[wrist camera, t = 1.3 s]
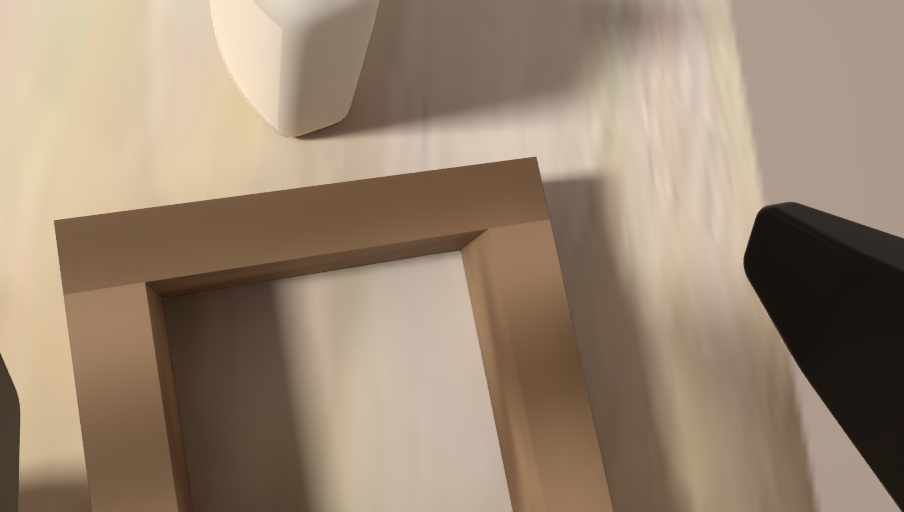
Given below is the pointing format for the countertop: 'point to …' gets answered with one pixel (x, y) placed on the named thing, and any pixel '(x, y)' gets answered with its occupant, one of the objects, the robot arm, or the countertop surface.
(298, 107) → the eye dropper bottle
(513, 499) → the socket block
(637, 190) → the countertop surface
